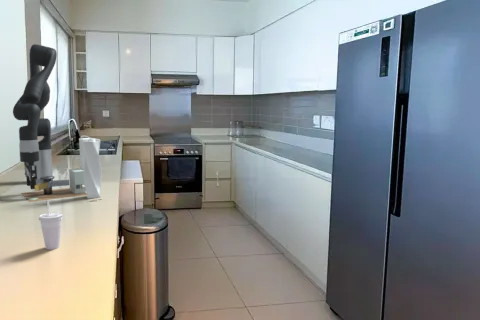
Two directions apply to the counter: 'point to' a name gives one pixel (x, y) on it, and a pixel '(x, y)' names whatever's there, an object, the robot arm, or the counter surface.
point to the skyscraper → (92, 167)
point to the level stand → (77, 181)
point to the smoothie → (51, 228)
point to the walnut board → (55, 194)
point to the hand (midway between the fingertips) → (31, 187)
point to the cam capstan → (49, 184)
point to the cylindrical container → (82, 153)
